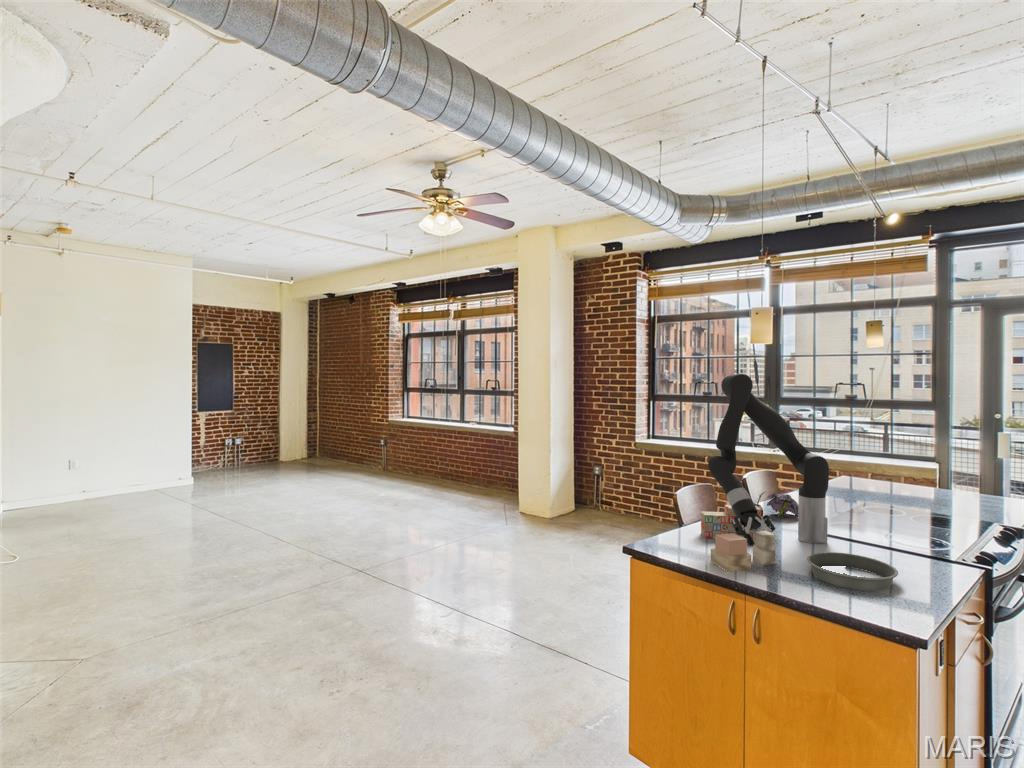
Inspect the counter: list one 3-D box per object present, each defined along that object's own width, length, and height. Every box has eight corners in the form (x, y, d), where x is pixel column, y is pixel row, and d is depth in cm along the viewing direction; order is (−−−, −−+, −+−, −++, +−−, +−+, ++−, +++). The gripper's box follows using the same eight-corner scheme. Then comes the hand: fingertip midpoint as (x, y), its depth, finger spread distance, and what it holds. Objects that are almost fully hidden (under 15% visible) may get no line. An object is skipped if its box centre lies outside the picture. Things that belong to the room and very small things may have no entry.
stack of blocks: (704, 538, 219) (704, 507, 219) (700, 534, 225) (700, 503, 225) (761, 540, 216) (761, 509, 216) (756, 536, 223) (756, 505, 222)
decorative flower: (811, 497, 247) (779, 488, 246) (808, 523, 244) (776, 514, 243) (791, 499, 261) (761, 490, 260) (788, 524, 258) (758, 515, 257)
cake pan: (900, 599, 160) (900, 584, 160) (803, 582, 173) (803, 568, 173) (896, 573, 181) (896, 559, 181) (809, 560, 194) (810, 547, 194)
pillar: (764, 558, 195) (765, 530, 194) (775, 563, 190) (775, 534, 190) (752, 560, 193) (752, 531, 193) (762, 565, 189) (763, 535, 188)
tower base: (733, 560, 193) (733, 546, 193) (751, 569, 185) (751, 554, 185) (710, 563, 191) (710, 548, 191) (727, 572, 182) (727, 557, 182)
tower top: (733, 547, 192) (733, 533, 192) (746, 554, 185) (747, 539, 185) (715, 549, 190) (715, 534, 190) (728, 555, 183) (728, 540, 183)
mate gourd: (744, 520, 245) (744, 486, 245) (764, 522, 243) (764, 487, 242) (746, 525, 238) (746, 490, 238) (766, 526, 236) (766, 491, 235)
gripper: (729, 498, 198) (750, 540, 187) (763, 496, 202) (786, 537, 191) (719, 510, 203) (740, 551, 192) (753, 507, 207) (775, 548, 196)
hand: (763, 544), depth 192 cm, fingers open, 8 cm apart
